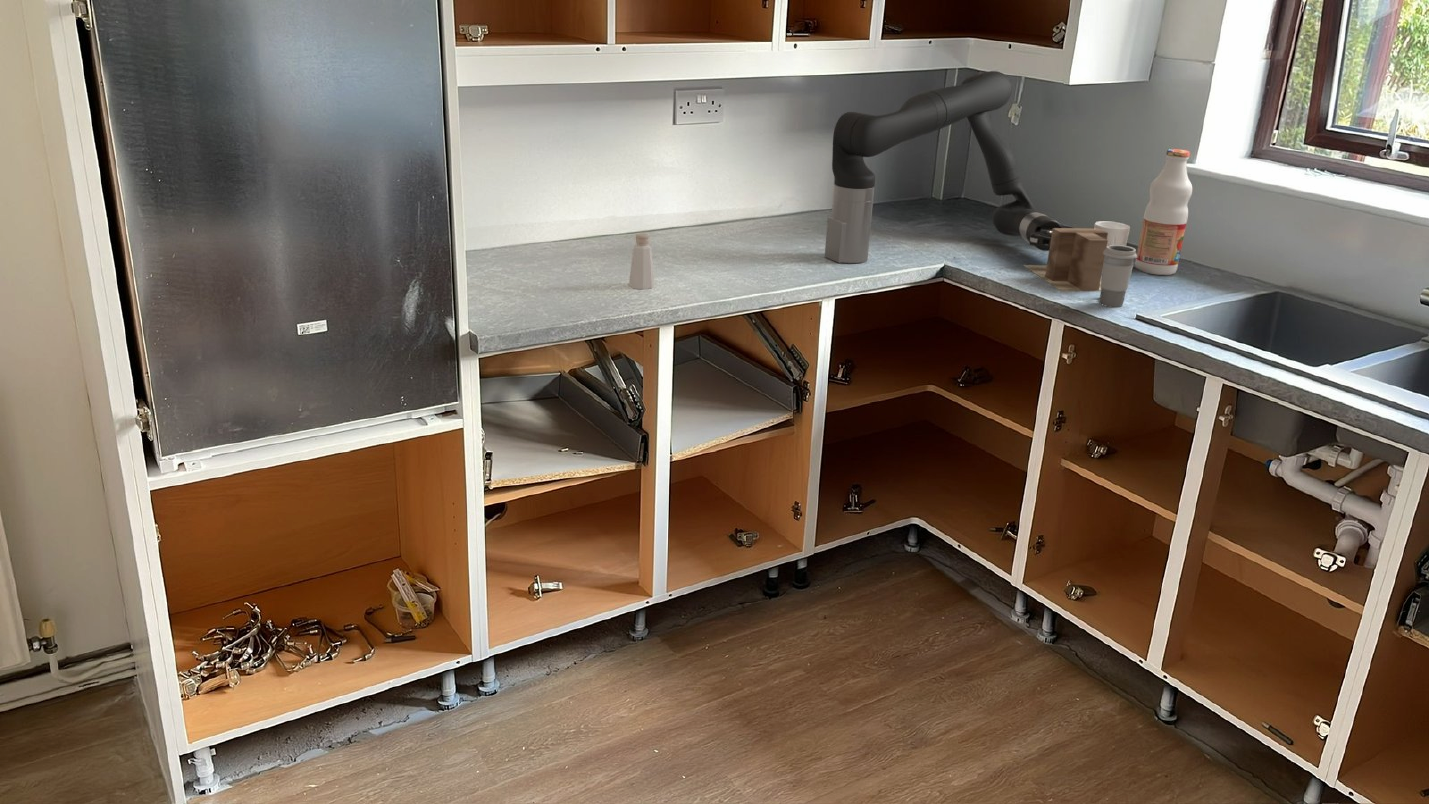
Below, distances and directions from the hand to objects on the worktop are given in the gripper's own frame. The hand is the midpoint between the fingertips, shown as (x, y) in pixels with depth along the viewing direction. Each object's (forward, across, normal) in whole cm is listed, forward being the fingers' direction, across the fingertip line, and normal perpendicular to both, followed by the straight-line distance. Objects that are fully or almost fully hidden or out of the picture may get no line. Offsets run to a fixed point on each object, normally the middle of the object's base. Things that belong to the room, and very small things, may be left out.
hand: (1072, 248), depth 245 cm
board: (+1, 0, +7) cm, 7 cm away
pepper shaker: (+6, -97, +7) cm, 97 cm away
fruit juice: (-8, +26, +7) cm, 28 cm away
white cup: (-12, +15, +7) cm, 20 cm away
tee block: (+6, 0, +6) cm, 8 cm away
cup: (+18, +1, +7) cm, 20 cm away
